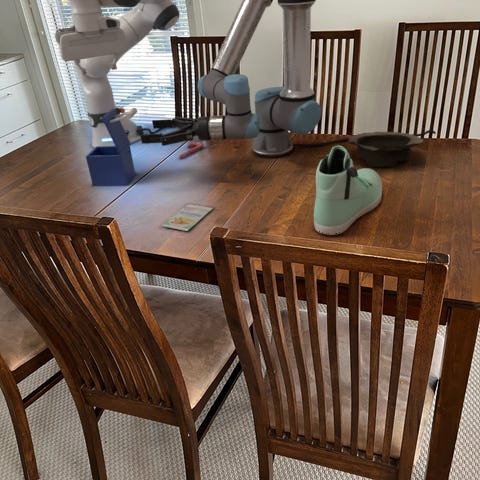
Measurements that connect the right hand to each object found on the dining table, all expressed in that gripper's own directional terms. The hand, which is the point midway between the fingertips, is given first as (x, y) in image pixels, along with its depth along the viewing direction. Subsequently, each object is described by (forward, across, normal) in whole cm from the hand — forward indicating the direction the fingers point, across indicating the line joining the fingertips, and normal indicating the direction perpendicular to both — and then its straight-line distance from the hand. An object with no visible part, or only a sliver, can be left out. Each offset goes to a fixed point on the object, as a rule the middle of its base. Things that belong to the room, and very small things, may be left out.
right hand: (147, 131), depth 157 cm
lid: (+11, +1, 0) cm, 11 cm away
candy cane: (-6, +25, -18) cm, 32 cm away
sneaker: (-63, -22, -18) cm, 70 cm away
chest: (+16, 0, -17) cm, 23 cm away
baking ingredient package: (-17, -27, -17) cm, 36 cm away
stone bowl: (-78, +15, -20) cm, 82 cm away
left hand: (+12, +1, +20) cm, 23 cm away
